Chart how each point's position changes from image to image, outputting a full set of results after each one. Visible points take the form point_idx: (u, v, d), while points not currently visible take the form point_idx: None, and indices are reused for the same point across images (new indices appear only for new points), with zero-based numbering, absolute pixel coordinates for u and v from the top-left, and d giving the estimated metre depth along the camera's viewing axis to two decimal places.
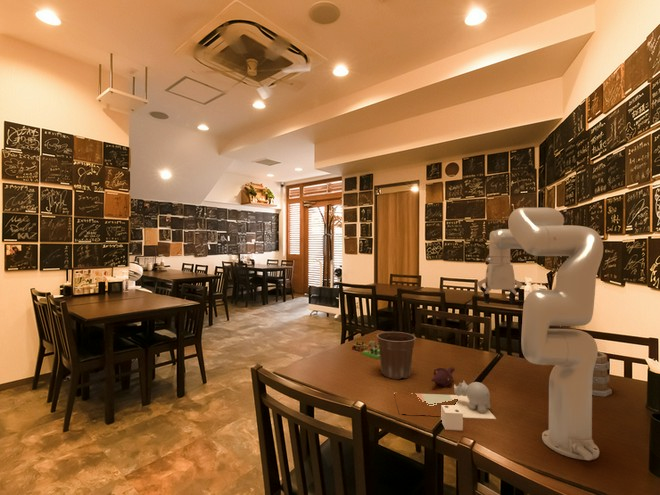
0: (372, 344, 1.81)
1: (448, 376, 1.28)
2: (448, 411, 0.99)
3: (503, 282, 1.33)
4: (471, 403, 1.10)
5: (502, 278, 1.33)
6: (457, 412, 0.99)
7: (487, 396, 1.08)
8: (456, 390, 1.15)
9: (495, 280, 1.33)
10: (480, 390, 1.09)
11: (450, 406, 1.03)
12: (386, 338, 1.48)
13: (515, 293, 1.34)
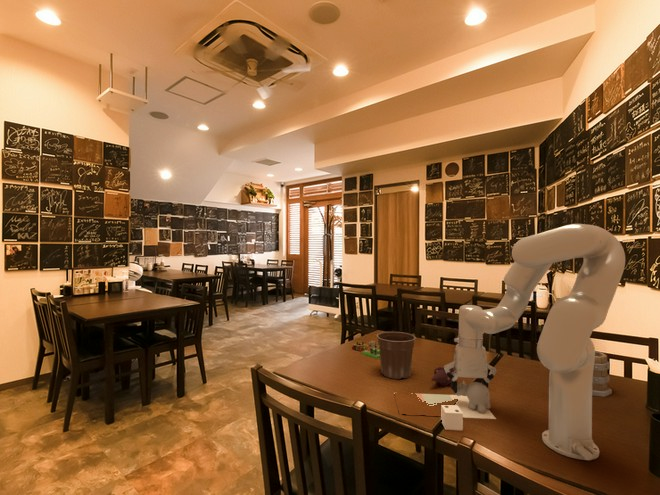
0: (372, 344, 1.81)
1: None
2: (448, 411, 0.99)
3: (473, 369, 1.11)
4: (471, 403, 1.10)
5: (472, 364, 1.11)
6: (457, 412, 0.99)
7: (487, 396, 1.08)
8: None
9: (464, 367, 1.11)
10: (480, 390, 1.09)
11: (450, 406, 1.03)
12: (386, 338, 1.48)
13: (488, 382, 1.12)
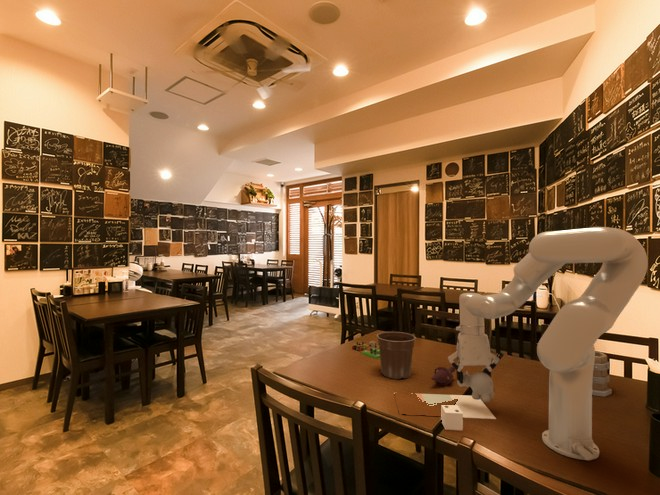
0: (372, 344, 1.81)
1: (448, 375, 1.29)
2: (448, 411, 0.99)
3: (477, 357, 1.10)
4: (475, 393, 1.09)
5: (475, 352, 1.10)
6: (457, 412, 0.99)
7: (491, 385, 1.07)
8: None
9: (467, 355, 1.10)
10: (483, 379, 1.08)
11: (450, 406, 1.03)
12: (386, 338, 1.48)
13: (490, 370, 1.11)
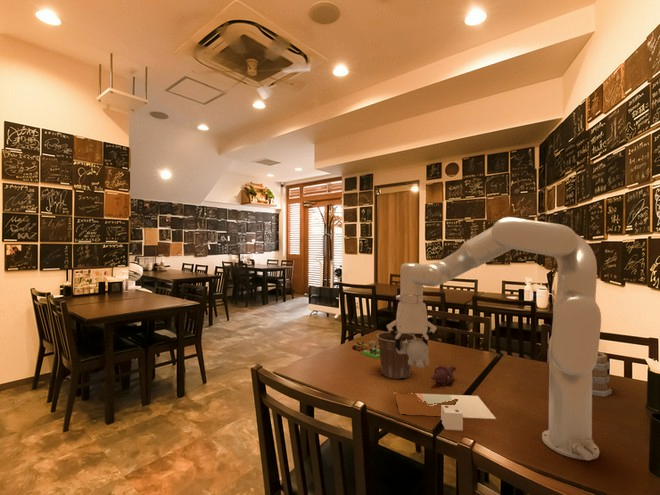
0: (373, 344, 1.81)
1: (448, 375, 1.29)
2: (448, 411, 0.99)
3: (413, 325, 1.12)
4: (410, 359, 1.12)
5: (412, 320, 1.12)
6: (457, 412, 0.99)
7: (425, 352, 1.10)
8: None
9: (404, 322, 1.12)
10: (418, 346, 1.10)
11: (450, 406, 1.03)
12: (386, 338, 1.48)
13: (427, 339, 1.13)
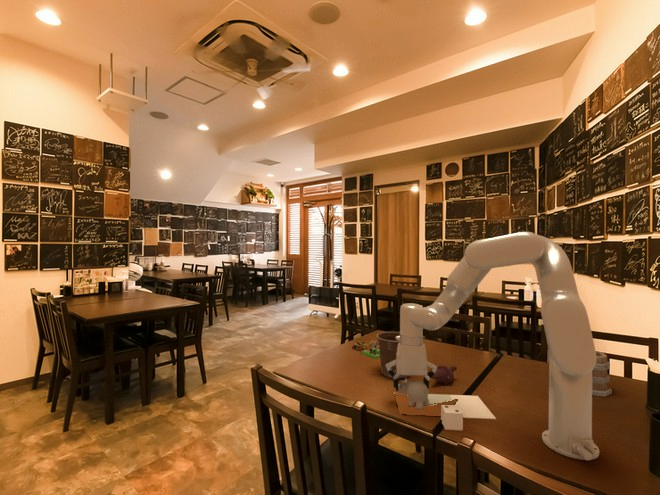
0: (373, 344, 1.81)
1: (448, 374, 1.30)
2: (448, 411, 0.99)
3: (413, 367, 1.12)
4: (410, 401, 1.12)
5: (411, 362, 1.12)
6: (457, 412, 0.99)
7: (425, 394, 1.10)
8: (398, 388, 1.17)
9: (404, 364, 1.12)
10: (418, 388, 1.10)
11: (450, 406, 1.03)
12: (386, 338, 1.48)
13: (428, 379, 1.13)
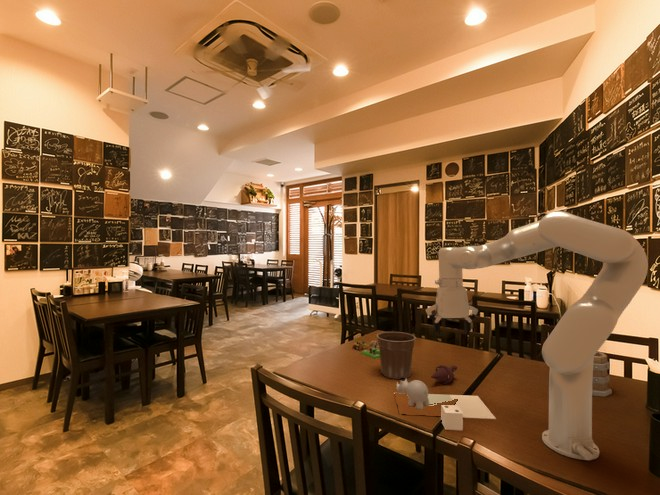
0: (373, 344, 1.81)
1: (448, 374, 1.30)
2: (448, 411, 0.99)
3: (455, 309, 1.11)
4: (410, 401, 1.12)
5: (453, 304, 1.11)
6: (457, 412, 0.99)
7: (425, 394, 1.10)
8: (398, 388, 1.17)
9: (446, 307, 1.11)
10: (418, 388, 1.10)
11: (450, 406, 1.03)
12: (386, 338, 1.48)
13: (470, 321, 1.12)
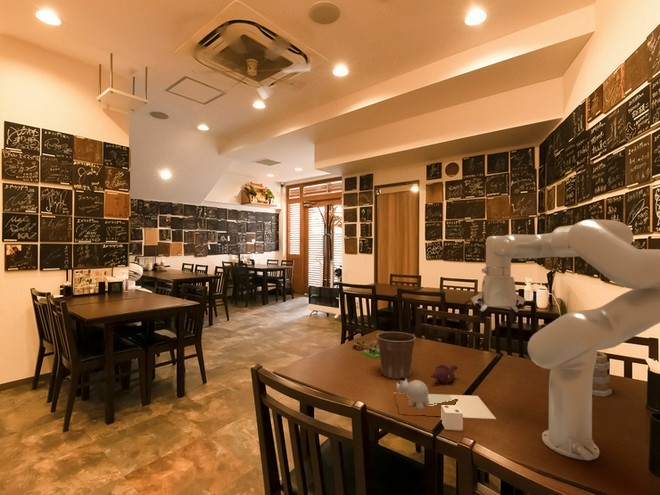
0: (374, 344, 1.81)
1: (448, 373, 1.31)
2: (448, 411, 0.99)
3: (502, 298, 1.11)
4: (410, 401, 1.12)
5: (500, 293, 1.11)
6: (457, 412, 0.99)
7: (425, 394, 1.10)
8: (398, 388, 1.17)
9: (493, 295, 1.11)
10: (418, 388, 1.10)
11: (450, 406, 1.03)
12: (386, 338, 1.48)
13: (517, 311, 1.12)
